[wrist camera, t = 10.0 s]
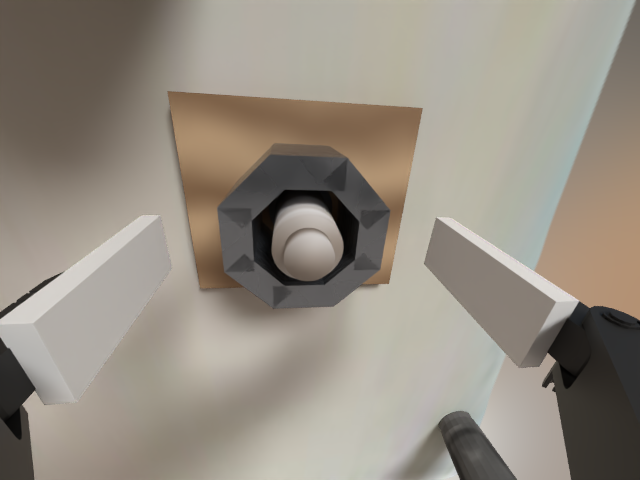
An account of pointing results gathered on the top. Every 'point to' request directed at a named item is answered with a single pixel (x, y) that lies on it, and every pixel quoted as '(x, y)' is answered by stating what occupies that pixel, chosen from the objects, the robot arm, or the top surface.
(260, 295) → the ring
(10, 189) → the top surface
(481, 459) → the beverage cup
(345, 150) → the post block
